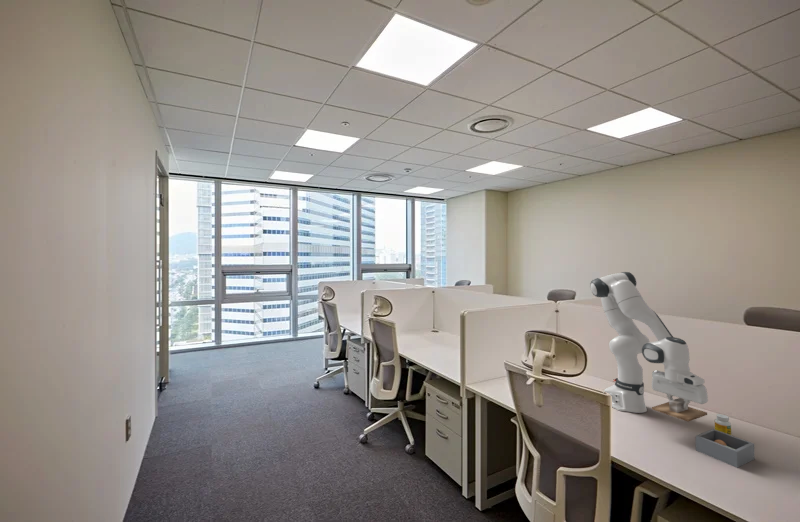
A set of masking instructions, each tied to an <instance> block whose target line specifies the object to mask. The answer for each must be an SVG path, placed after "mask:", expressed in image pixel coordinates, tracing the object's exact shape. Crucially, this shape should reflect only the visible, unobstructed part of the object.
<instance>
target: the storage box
mask: <svg viewBox="0 0 800 522" xmlns="http://www.w3.org/2000/svg"><path fill="white" fill-rule="evenodd" d="M715 440H722V441H724V442H725V443H726V445H727V446H728V447H726V446H724V445H721V444H719V443H716V442H714V441H715ZM729 447H731V448H733V449H731V448H729ZM734 449H735V450H734ZM695 451H696V452H698V453H701V454H703V455H706V456H708V457H711V458H713V459H715V460H718V461H720V462H722V463H725V464H727V465H730V466H731V467H733V468H736V469H738V468H740V467H742V466H744V465H745V464H748V463H749V462H752V461H754V460H755V455H756V454H755V443H754V442H752V441H748V440H745V439H743V438H739V437H737V436H734V435H732V434H731V435H729V434H726V433H723V432H721V431H718V430H715V428H712V429H709V430H707V431H704V432H702V433H699V434H696V435H695Z"/></svg>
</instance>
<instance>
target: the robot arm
mask: <svg viewBox="0 0 800 522" xmlns="http://www.w3.org/2000/svg"><path fill="white" fill-rule="evenodd" d="M589 288H590V291H591V293H592V294H593V296H595V298H600V302H601V306H602V309H603V313H604V316H605V317H606V319H607V322H608V324H609V326H610V327H611V328H612V329H613V330H614V331H615V332H616V333H617V334H618V335H616V336H615V337H613V339H611V340H610V341H609V344H608V348H609V351H610V352H611V353H612V354H613V355H614V357H615V361H616V366H617V378H614V379H613V380H612V382H614V384H613V385H610V386H608V387H606V388H605V389H604V390H603V392H604V391H605V392H607V393H609V394H610V395H611V396H612V407H611V408H613V409H614V410H617V411H620V412H628V413H637V414H638V413H639V414H641V413H646V412H647V411H648V409H647V406H646V405H647V404H646V402H645V395H644V392H645V383H644V381H643V380H644V375H643V366H642V365H641V364H640V363H639V360H638V354H642V356H643V358H644V359H645V360H646V361H647V362H649V363H651V364H662V365H663V366H664V371H661V370H657V369H656V370H653V371H652V373H651V389H652V390H653V391H655V392H659V393H662V394H665V395H666V397H667V399H668V402H669V401H671V400H674V398H673V397H676V398H682V399H684V402H685V403H684V404H681V406H682V407H681V408H682V409H688V407H689V404H690V403H691V402H693V403H695V404H696V403H697V404H700V405H704V404H706V403H708V401H709V395H708V392H707V391H708V390H707V388H706V386H705V385H704V384H705V379H704V378H703V377H701V376H699V375H696V374H695V373H693V372H691V368H690V366H689V363H690V350H689V346H688V344H687V342H686V341H685V339H684V340H683V339H681V338H679V337H674V336H673V334H672V333H671V331H670V330H669V329H668V327H667V326H666V325H665V323H664V322H663V320H662V319H661V318H660V316H659V315H658V314H657V313H656V312H655V310H653V309H652V308H651V307H650V306H649V305H648V304H647V302H646V301H645V299H644V298H643V296H642V294H641V293H640V292H639V290H638V288H637V279H636V277H635V275H634V274H632V273H631V272H630V271H629V272H628V271H621V272H617V273H612V274H608V275H604V276H602V277H599V278H598V277H597V278H594V279H592V280H591V281H590V283H589ZM634 321H639V322H642V323H643V324H645V325H646V326H648V328H649V329H650V331H652V333H653V335H654V336H655V338H656V339H657V340H656V341H650V340H649V337H647V336H646V335H645V334H644V333H643V332H641V330H640V329H639V328H638V326H637V325H636V323H635V322H634Z"/></svg>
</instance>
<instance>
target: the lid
mask: <svg viewBox="0 0 800 522" xmlns="http://www.w3.org/2000/svg"><path fill="white" fill-rule="evenodd" d="M684 403H685V402H684V399H682V398H679V397H677V398H674V399H673V400H671V401H669V400H668V402H664V403H660V404H657V405H655V406H652V407H651V409H652V411H655V412H659V413H662V414H665V415H668V416H670V417H673V418H675V419H679V420H682V421H685V422H688V423H689V422H691V421H694V420H697V419H699V418H703V417H705V416H708V411H707V412H706V411H704V410H700V409H698V408H694V407H690V406H688V409H682V408H681V407H682V406H681V404H684Z"/></svg>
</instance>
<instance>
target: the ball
mask: <svg viewBox="0 0 800 522" xmlns="http://www.w3.org/2000/svg"><path fill="white" fill-rule="evenodd" d="M714 442H716V443H719V444H721V445H724V446H727V445H726V443H725V442H724V441H722V440H715V441H714Z"/></svg>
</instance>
